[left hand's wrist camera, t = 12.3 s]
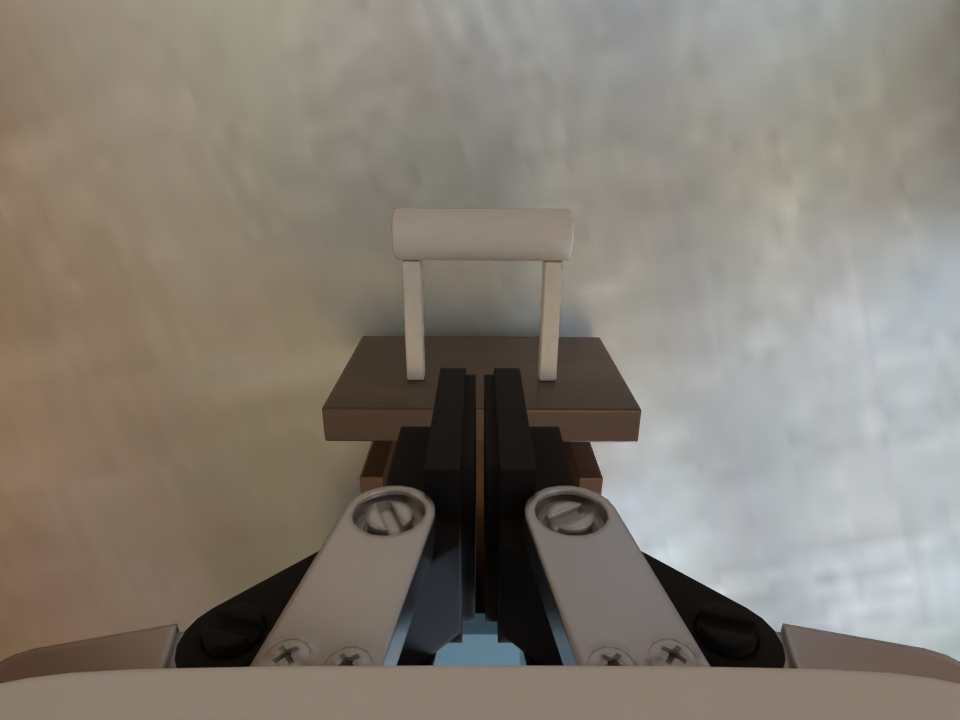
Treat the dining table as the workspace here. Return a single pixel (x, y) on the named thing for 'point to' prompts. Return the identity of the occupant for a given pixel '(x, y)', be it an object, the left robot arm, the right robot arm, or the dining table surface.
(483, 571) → the drawer
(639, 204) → the dining table surface
